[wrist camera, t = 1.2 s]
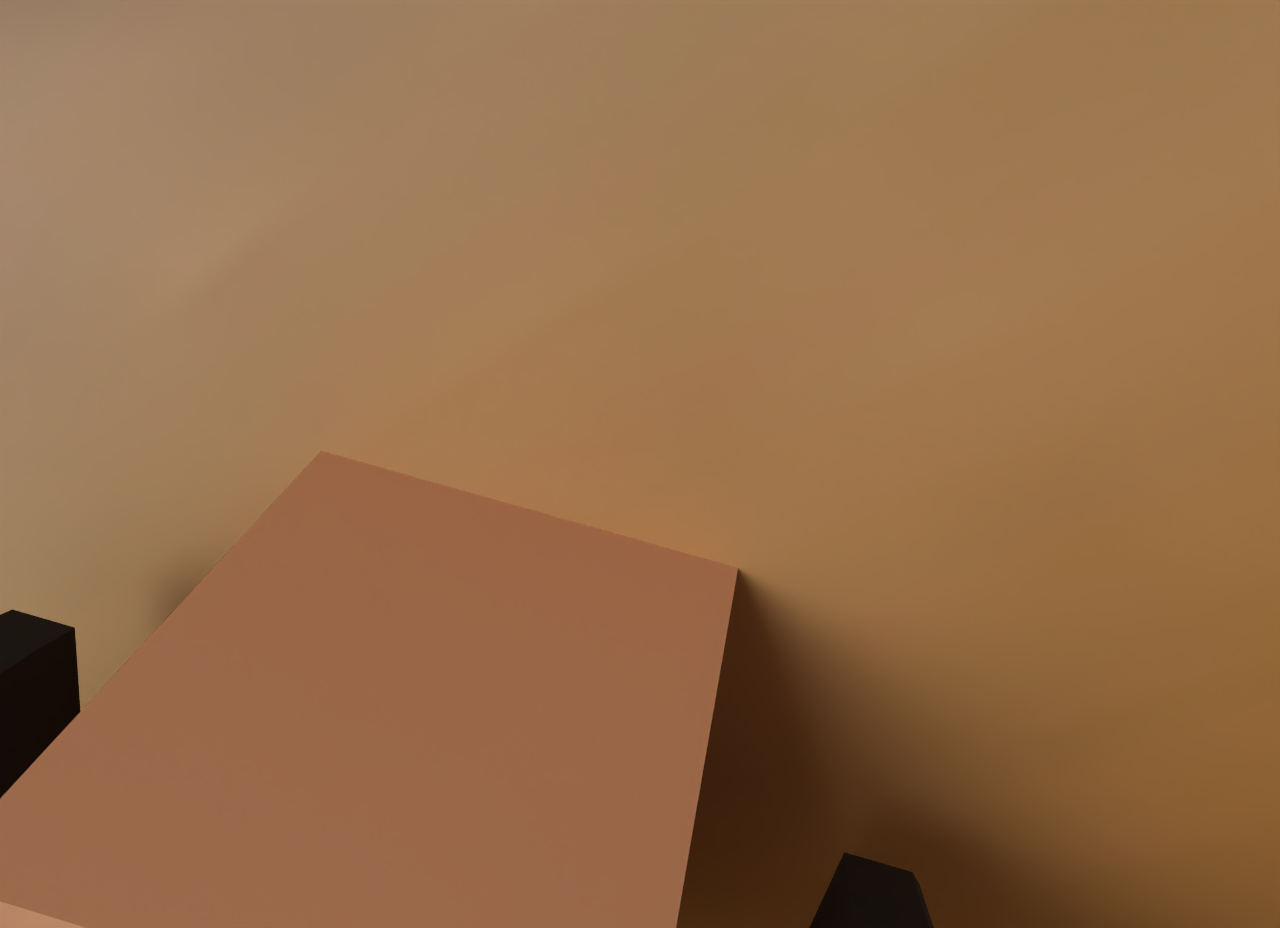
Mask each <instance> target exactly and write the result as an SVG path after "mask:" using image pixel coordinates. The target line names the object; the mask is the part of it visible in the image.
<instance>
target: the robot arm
mask: <svg viewBox="0 0 1280 928" xmlns="http://www.w3.org/2000/svg"><path fill="white" fill-rule="evenodd" d="M79 713H80V700H79V685H78V670H77V655H76V640H75V628H74V627H70V626H67V625H63V624H60V623H57V622H53V621H50V620H46V619H43V618H39V617H36V616H33V615H29V614H26V613H22V612H19V611H15V610H10V611H8V612H6V613H4V614H1V615H0V798H1V797H2V796H3V795H4V794H5V793H6V792H7V791H8V790H9V789H10V788H11V786H12V785H13V784H14V783H15V782H16V781H17V780H18V779H19V778H20V777H21V776H22V775H23V773H24V772H25V771H26V770H27V769H28V768H29V767H30V766H31V765H32V764H33V763H34V762H35V760H36V759H37V758H38V757H39V756H40V755H41V754H42V753H43V752H44V751H45V750H46V749H47V747H48V746H49V745H50V744H51V743H52V742H53V741H54V740H55V739H56V738H57V737H58V736H59V734H60V733H61V732H62V731H63V730H64V729H65V728H66V727H67V726H68V725H69V724H70V723H71V721H72V720H73V719H74V718H75V717H76V716H77V715H78V714H79ZM810 928H933V925H932V922H931V919H930V916H929V913H928V910H927V907H926V904H925V900H924V897H923V894H922V891H921V888H920V885H919V883H918V881H917V880H916V878H915V876H914V875H913V873H912V872H910V871H906V870H903V869H899V868H896V867H892V866H889V865H886V864H882V863H879V862H875V861H872V860H868V859H865V858H862V857H858V856H855V855H851V854H848V853H844V854H843V857H842V859H841V861H840V863H839V865H838V867H837V870H836V872H835V874H834V876H833V878H832V880H831V883H830V885H829V887H828V889H827V891H826V893H825V896H824V898H823V900H822V902H821V904H820V906H819V909H818V911H817V913H816V915H815V917H814V919H813V922H812V924H811V926H810Z"/></svg>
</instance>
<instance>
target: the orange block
mask: <svg viewBox="0 0 1280 928" xmlns="http://www.w3.org/2000/svg"><path fill="white" fill-rule="evenodd" d="M737 571H738V568H735V567H732V566H728V565H724V564H721V563H717V562H714V561H710V560H707V559H703V558H700V557H696V556H692V555H689V554H685V553H682V552H678V551H675V550H671V549H668V548H664V547H660V546H657V545H653V544H650V543H646V542H643V541H639V540H636V539H632V538H628V537H625V536H621V535H618V534H614V533H611V532H607V531H604V530H600V529H596V528H593V527H589V526H586V525H582V524H579V523H575V522H572V521H568V520H564V519H561V518H557V517H554V516H550V515H547V514H543V513H540V512H536V511H532V510H529V509H525V508H522V507H518V506H515V505H511V504H508V503H504V502H500V501H497V500H493V499H490V498H486V497H483V496H479V495H476V494H472V493H469V492H465V491H461V490H458V489H454V488H451V487H447V486H444V485H440V484H437V483H433V482H429V481H426V480H422V479H419V478H415V477H412V476H408V475H405V474H401V473H397V472H394V471H390V470H387V469H383V468H380V467H376V466H373V465H369V464H365V463H362V462H358V461H355V460H351V459H348V458H344V457H341V456H337V455H333V454H330V453H326V452H323V451H321V452H320V453H319V454H318V455H317V456H316V457H315V458H314V459H313V461H312V462H311V463H310V464H309V465H308V466H307V467H306V468H305V469H304V470H303V471H302V472H301V474H300V475H299V476H298V477H297V478H296V479H295V480H294V481H293V482H292V483H291V484H290V485H289V487H288V488H287V489H286V490H285V491H284V492H283V493H282V494H281V495H280V496H279V497H278V498H277V499H276V501H275V502H274V503H273V504H272V505H271V506H270V507H269V508H268V509H267V510H266V511H265V512H264V514H263V515H262V516H261V517H260V518H259V519H258V520H257V521H256V522H255V523H254V524H253V525H252V527H251V528H250V529H249V530H248V531H247V532H246V533H245V534H244V535H243V536H242V537H241V538H240V540H239V541H238V542H237V543H236V544H235V545H234V546H233V547H232V548H231V549H230V550H229V551H228V553H227V554H226V555H225V556H224V557H223V558H222V559H221V560H220V561H219V562H218V563H217V564H216V566H215V567H214V568H213V569H212V570H211V571H210V572H209V573H208V574H207V575H206V576H205V577H204V579H203V580H202V581H201V582H200V583H199V584H198V585H197V586H196V587H195V588H194V589H193V590H192V592H191V593H190V594H189V595H188V596H187V597H186V598H185V599H184V600H183V601H182V602H181V603H180V605H179V606H178V607H177V608H176V609H175V610H174V611H173V612H172V613H171V614H170V615H169V616H168V618H167V619H166V620H165V621H164V622H163V623H162V624H161V625H160V626H159V627H158V628H157V629H156V631H155V632H154V633H153V634H152V635H151V636H150V637H149V638H148V639H147V640H146V641H145V642H144V644H143V645H142V646H141V647H140V648H139V649H138V650H137V651H136V652H135V653H134V654H133V655H132V657H131V658H130V659H129V660H128V661H127V662H126V663H125V664H124V665H123V666H122V667H121V668H120V670H119V671H118V672H117V673H116V674H115V675H114V676H113V677H112V678H111V679H110V680H109V681H108V683H107V684H106V685H105V686H104V687H103V688H102V689H101V690H100V691H99V692H98V693H97V694H96V696H95V697H94V698H93V699H92V700H91V701H90V702H89V703H88V704H87V705H86V706H85V707H84V708H83V710H82V711H81V712H80V713H79V714H78V715H77V716H76V717H75V718H74V719H73V720H72V721H71V723H70V724H69V725H68V726H67V727H66V728H65V729H64V730H63V731H62V732H61V733H60V734H59V736H58V737H57V738H56V739H55V740H54V741H53V742H52V743H51V744H50V745H49V746H48V747H47V749H46V750H45V751H44V752H43V753H42V754H41V755H40V756H39V757H38V758H37V759H36V760H35V762H34V763H33V764H32V765H31V766H30V767H29V768H28V769H27V770H26V771H25V772H24V773H23V775H22V776H21V777H20V778H19V779H18V780H17V781H16V782H15V783H14V784H13V785H12V786H11V788H10V789H9V790H8V791H7V792H6V793H5V794H4V795H3V796H2V797H1V798H0V928H676V925H677V919H678V913H679V908H680V902H681V896H682V890H683V884H684V879H685V873H686V867H687V861H688V855H689V850H690V844H691V838H692V832H693V826H694V821H695V815H696V809H697V803H698V797H699V792H700V786H701V780H702V774H703V768H704V763H705V757H706V751H707V745H708V739H709V734H710V728H711V722H712V716H713V711H714V705H715V699H716V693H717V687H718V682H719V676H720V670H721V664H722V658H723V653H724V647H725V641H726V635H727V629H728V624H729V618H730V612H731V606H732V600H733V595H734V589H735V583H736V577H737Z"/></svg>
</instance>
